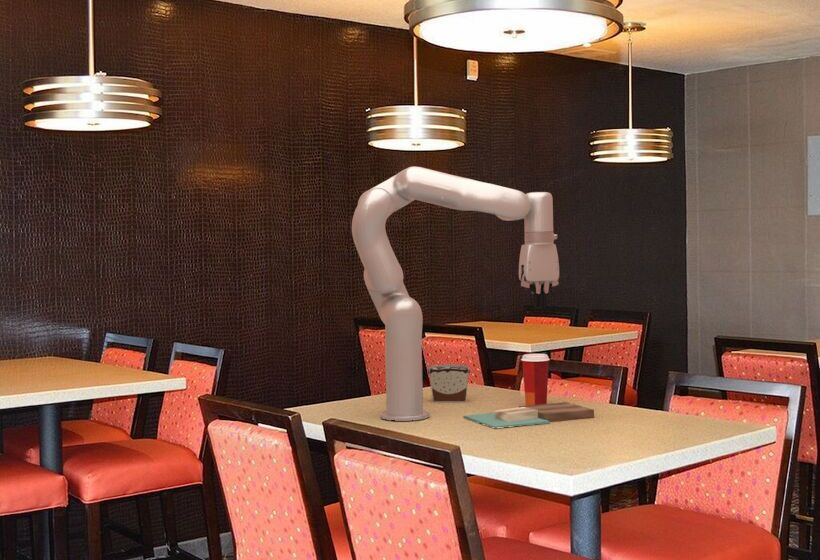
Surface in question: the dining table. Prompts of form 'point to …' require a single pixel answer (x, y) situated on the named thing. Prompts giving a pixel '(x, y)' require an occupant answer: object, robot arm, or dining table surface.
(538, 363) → the paper cup
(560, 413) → the block
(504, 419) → the beige flat block
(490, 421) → the mat
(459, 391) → the food container
